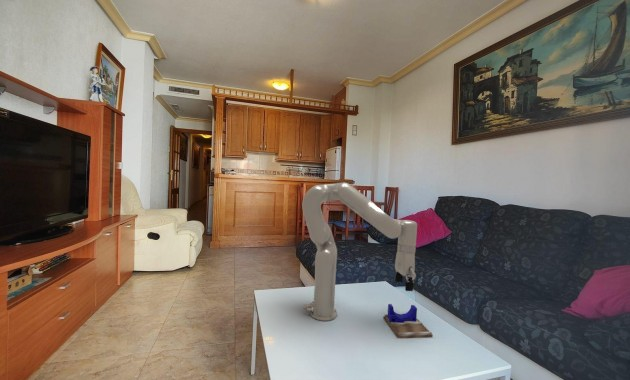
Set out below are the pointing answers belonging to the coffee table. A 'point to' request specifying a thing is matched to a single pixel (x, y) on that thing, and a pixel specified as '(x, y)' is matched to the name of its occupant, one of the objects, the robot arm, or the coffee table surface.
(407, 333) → the organizer board
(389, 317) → the cable clip
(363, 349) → the coffee table surface
